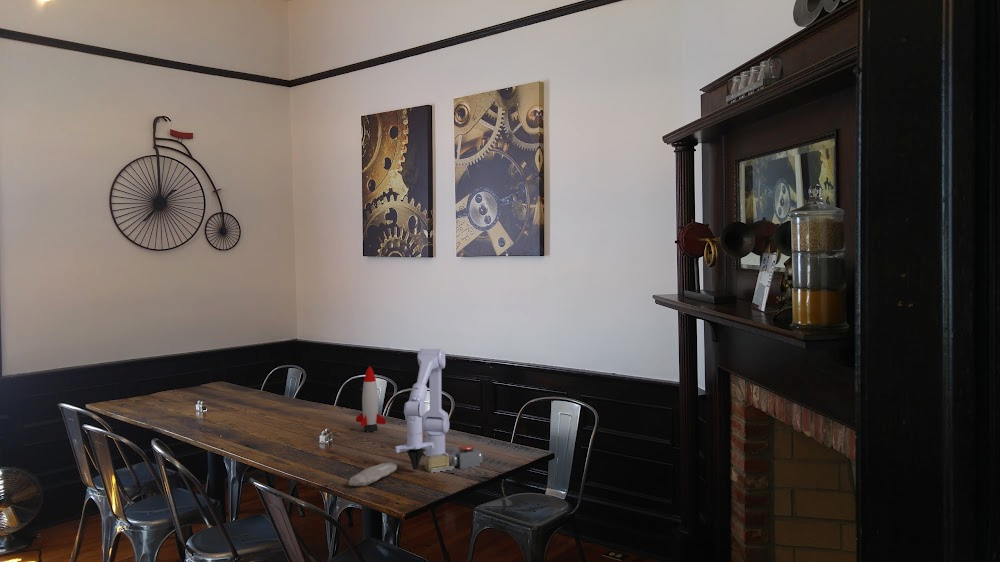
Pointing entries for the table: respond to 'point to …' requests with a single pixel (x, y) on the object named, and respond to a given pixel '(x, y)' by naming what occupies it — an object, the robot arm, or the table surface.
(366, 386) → the toy rocket
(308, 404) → the table surface
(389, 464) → the stone tool
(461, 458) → the valve
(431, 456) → the gold flanged block
